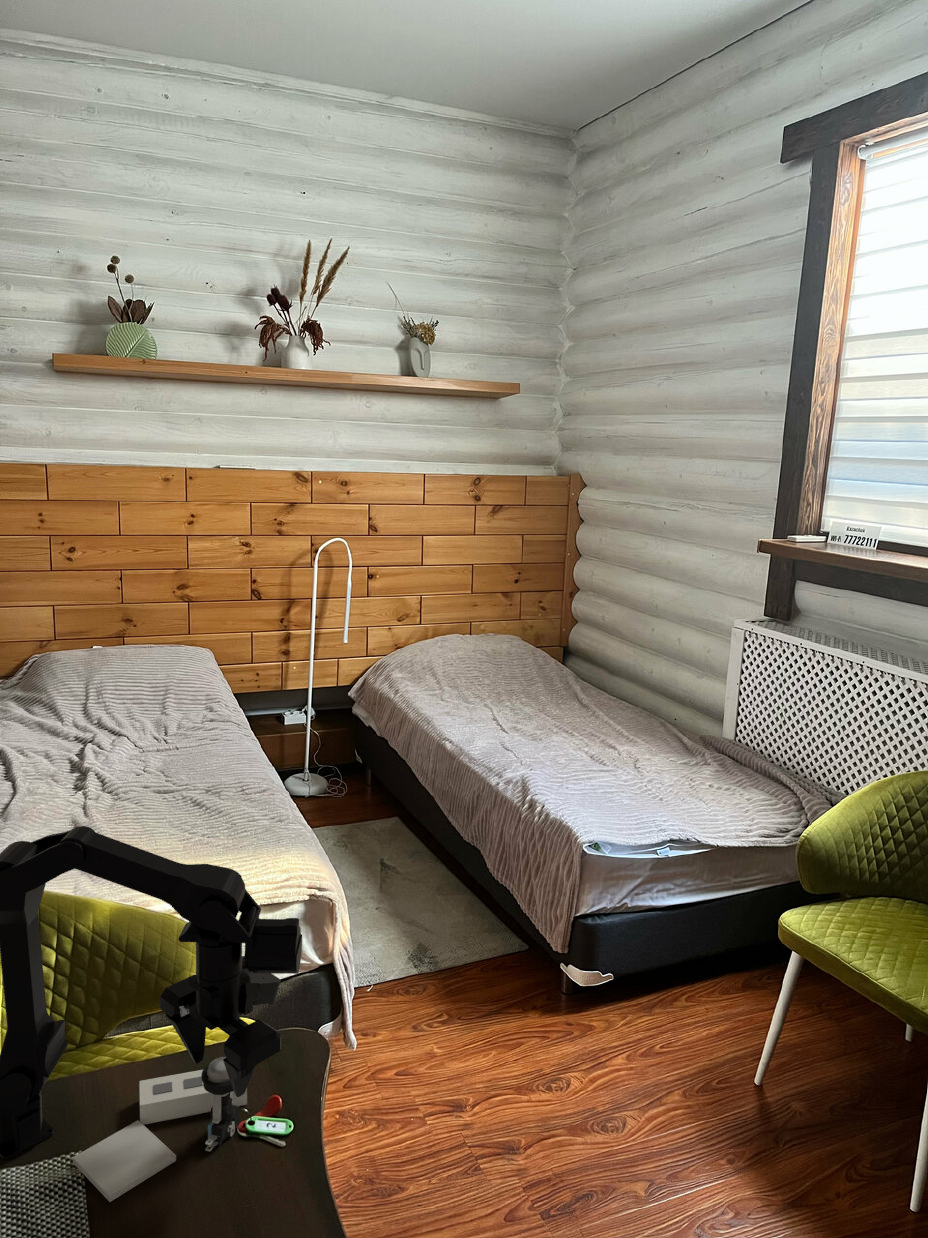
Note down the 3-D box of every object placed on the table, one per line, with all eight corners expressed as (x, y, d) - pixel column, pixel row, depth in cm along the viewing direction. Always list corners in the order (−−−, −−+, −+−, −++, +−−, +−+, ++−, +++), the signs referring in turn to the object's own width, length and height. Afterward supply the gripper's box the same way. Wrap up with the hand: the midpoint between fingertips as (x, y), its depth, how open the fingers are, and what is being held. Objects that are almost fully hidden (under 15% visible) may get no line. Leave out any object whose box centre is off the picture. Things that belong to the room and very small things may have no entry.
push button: (225, 1159, 117) (225, 1090, 116) (188, 1149, 119) (187, 1081, 117) (250, 1123, 124) (250, 1057, 122) (215, 1115, 125) (214, 1049, 123)
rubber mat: (73, 1163, 116) (72, 1157, 116) (138, 1125, 123) (138, 1120, 122) (109, 1202, 110) (109, 1196, 110) (176, 1160, 117) (176, 1155, 117)
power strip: (140, 1125, 123) (139, 1102, 122) (139, 1100, 127) (139, 1078, 127) (247, 1104, 127) (247, 1082, 127) (243, 1081, 132) (243, 1059, 131)
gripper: (315, 973, 117) (313, 1082, 120) (228, 920, 129) (228, 1020, 132) (243, 1010, 109) (242, 1126, 111) (157, 950, 120) (158, 1057, 123)
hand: (219, 1078), depth 120 cm, fingers open, 9 cm apart
